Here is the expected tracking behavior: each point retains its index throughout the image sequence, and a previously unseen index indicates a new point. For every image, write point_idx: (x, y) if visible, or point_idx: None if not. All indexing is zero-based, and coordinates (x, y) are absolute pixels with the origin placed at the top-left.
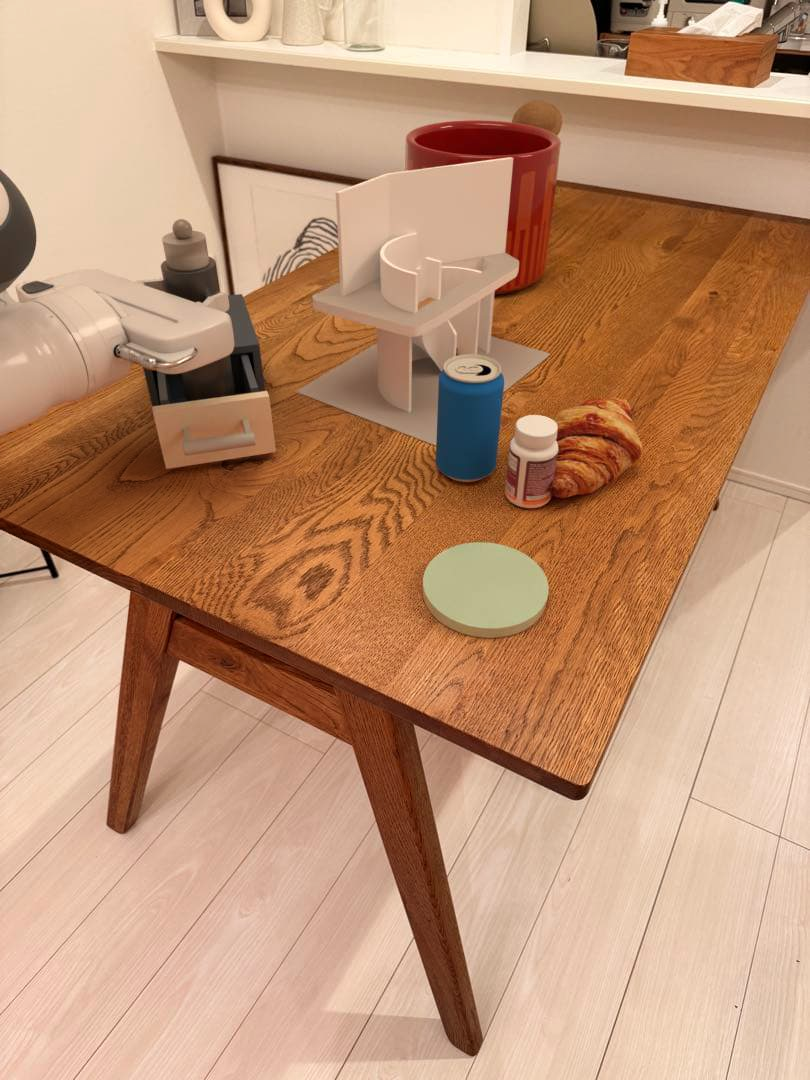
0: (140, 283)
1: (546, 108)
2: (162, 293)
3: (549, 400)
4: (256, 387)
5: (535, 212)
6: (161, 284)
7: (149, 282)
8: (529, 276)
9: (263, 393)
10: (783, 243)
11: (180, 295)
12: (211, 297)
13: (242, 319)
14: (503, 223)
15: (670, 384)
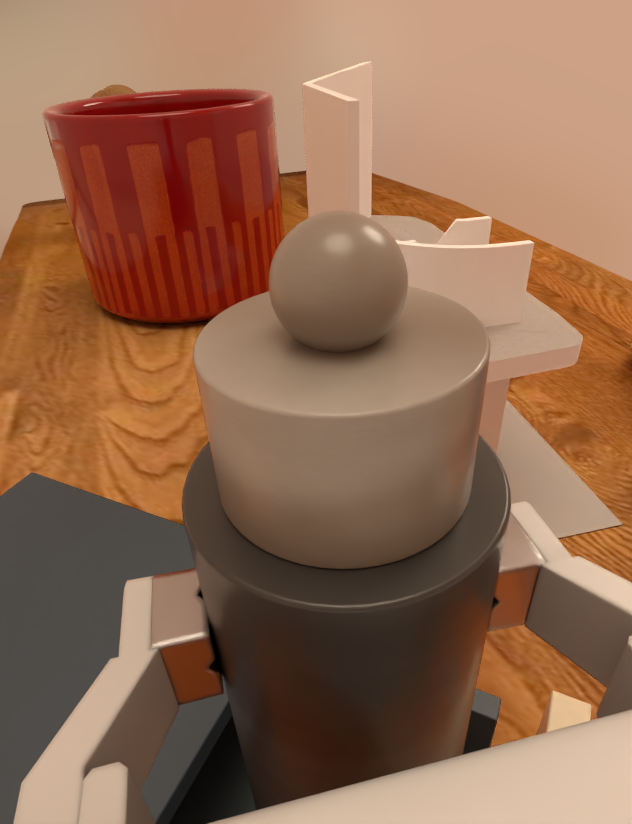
0: (90, 789)
1: (131, 91)
2: (549, 791)
3: (551, 376)
4: (499, 702)
5: (279, 179)
6: (157, 666)
7: (113, 720)
8: None
9: (567, 709)
10: (376, 180)
11: (450, 668)
12: (566, 562)
13: (146, 531)
14: (370, 170)
15: (575, 303)
